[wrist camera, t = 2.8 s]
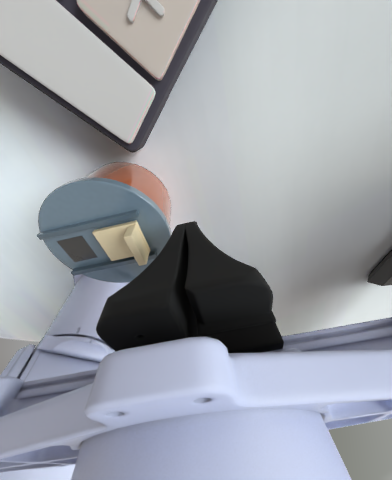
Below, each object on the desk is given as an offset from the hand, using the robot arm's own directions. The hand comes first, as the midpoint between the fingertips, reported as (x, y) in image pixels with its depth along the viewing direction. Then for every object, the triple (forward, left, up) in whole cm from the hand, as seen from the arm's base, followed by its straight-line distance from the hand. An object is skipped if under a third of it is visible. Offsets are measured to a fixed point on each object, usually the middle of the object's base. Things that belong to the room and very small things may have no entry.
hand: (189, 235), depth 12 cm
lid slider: (-2, +4, -1) cm, 5 cm away
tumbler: (-3, +5, -8) cm, 10 cm away
